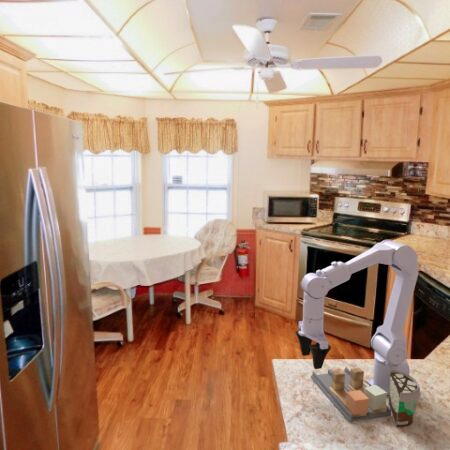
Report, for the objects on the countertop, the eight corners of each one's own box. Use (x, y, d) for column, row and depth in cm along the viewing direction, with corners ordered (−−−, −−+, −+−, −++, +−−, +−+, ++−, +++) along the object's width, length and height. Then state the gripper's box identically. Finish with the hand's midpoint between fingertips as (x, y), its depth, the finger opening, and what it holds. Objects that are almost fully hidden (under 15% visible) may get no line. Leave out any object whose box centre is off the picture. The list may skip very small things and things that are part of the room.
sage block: (374, 398, 106) (375, 384, 105) (385, 406, 102) (386, 392, 101) (363, 401, 104) (364, 387, 104) (374, 410, 101) (375, 395, 100)
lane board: (346, 372, 122) (346, 367, 122) (391, 415, 101) (391, 409, 101) (310, 377, 120) (311, 371, 119) (348, 422, 98) (349, 415, 98)
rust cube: (359, 403, 103) (360, 390, 103) (367, 412, 99) (368, 398, 99) (345, 405, 102) (346, 391, 102) (354, 415, 98) (355, 400, 98)
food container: (424, 434, 94) (427, 397, 93) (397, 430, 95) (400, 393, 94) (410, 404, 106) (413, 370, 105) (387, 401, 107) (389, 368, 106)
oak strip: (342, 389, 112) (343, 369, 111) (366, 415, 100) (367, 393, 99) (329, 391, 111) (330, 371, 110) (352, 417, 99) (353, 395, 98)
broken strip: (360, 386, 113) (361, 367, 112) (386, 412, 102) (388, 390, 101) (347, 388, 112) (348, 368, 111) (372, 414, 101) (374, 392, 100)
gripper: (289, 308, 114) (288, 351, 116) (311, 328, 100) (310, 376, 102) (311, 306, 115) (309, 348, 117) (336, 325, 101) (334, 373, 103)
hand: (311, 361), depth 110 cm, fingers open, 7 cm apart
